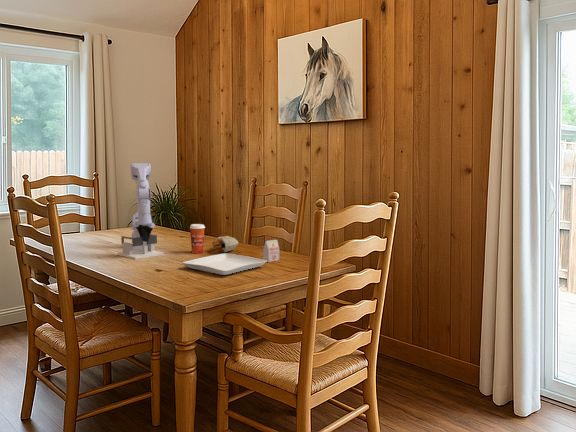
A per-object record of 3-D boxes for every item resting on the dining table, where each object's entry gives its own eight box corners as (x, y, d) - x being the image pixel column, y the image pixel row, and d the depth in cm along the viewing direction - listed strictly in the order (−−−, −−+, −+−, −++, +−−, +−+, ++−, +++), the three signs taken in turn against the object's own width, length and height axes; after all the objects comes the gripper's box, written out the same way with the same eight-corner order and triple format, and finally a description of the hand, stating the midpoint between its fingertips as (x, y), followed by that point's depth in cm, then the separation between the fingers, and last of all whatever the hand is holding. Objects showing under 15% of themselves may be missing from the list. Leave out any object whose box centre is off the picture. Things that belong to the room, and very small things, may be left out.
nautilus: (217, 258, 283) (195, 255, 292) (246, 248, 300) (224, 247, 309) (216, 242, 282) (193, 240, 291) (244, 233, 299) (223, 232, 308)
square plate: (225, 260, 277) (225, 252, 277) (268, 268, 260) (268, 259, 260) (180, 269, 257) (180, 260, 256) (224, 279, 239) (224, 269, 239)
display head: (117, 254, 286) (116, 242, 285) (145, 250, 298) (145, 238, 297) (135, 259, 275) (135, 246, 275) (163, 254, 287) (163, 242, 286)
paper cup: (190, 254, 289) (190, 226, 287) (189, 251, 296) (188, 224, 294) (206, 253, 291) (206, 225, 289) (204, 250, 298) (204, 223, 297)
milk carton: (263, 261, 273) (263, 240, 272) (274, 259, 277) (274, 239, 276) (268, 262, 270) (268, 241, 269) (279, 261, 275) (279, 240, 273)
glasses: (121, 244, 286) (121, 236, 285) (144, 241, 295) (144, 233, 295) (134, 246, 278) (134, 238, 277) (157, 243, 287) (157, 235, 287)
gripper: (160, 213, 279) (160, 241, 281) (142, 211, 289) (143, 238, 291) (147, 215, 274) (147, 243, 276) (130, 212, 284) (131, 240, 286)
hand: (144, 241), depth 283 cm, fingers closed on glasses, 2 cm apart
